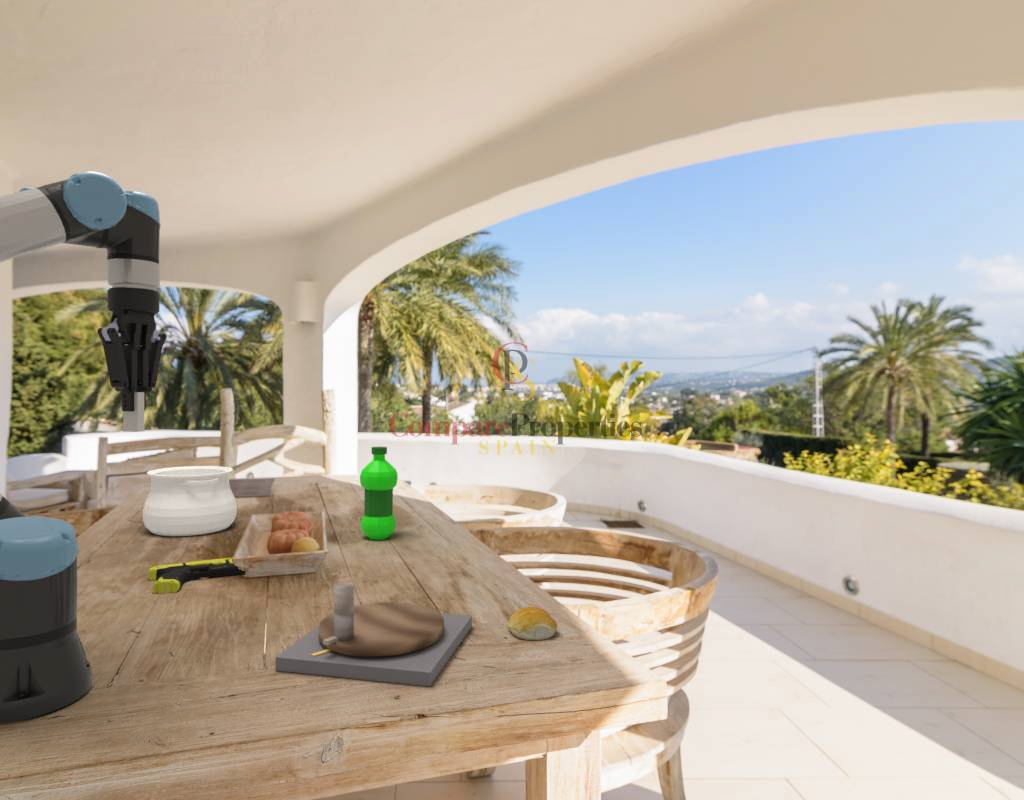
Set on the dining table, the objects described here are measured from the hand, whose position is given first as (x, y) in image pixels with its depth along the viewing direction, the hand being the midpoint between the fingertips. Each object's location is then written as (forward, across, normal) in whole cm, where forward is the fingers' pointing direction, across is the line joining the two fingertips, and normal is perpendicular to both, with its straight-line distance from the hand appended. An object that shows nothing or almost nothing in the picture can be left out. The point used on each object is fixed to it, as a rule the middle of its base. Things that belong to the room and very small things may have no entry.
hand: (133, 431), depth 112 cm
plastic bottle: (+35, -77, +12) cm, 85 cm away
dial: (+32, -5, +42) cm, 53 cm away
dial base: (+34, -5, +42) cm, 55 cm away
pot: (+35, -74, -44) cm, 93 cm away
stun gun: (+35, -31, -10) cm, 48 cm away
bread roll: (+35, -18, +65) cm, 76 cm away
